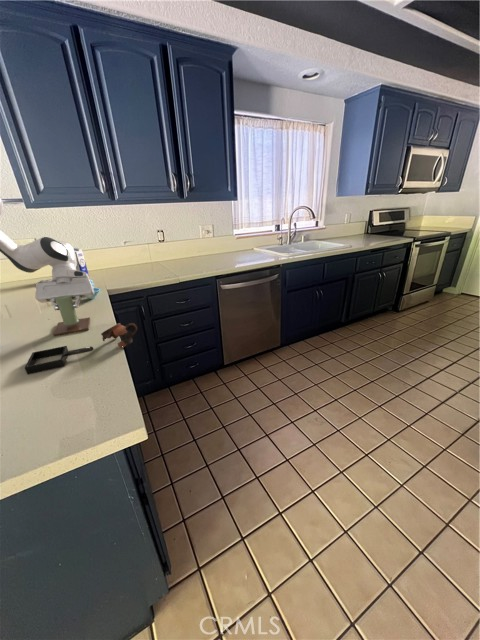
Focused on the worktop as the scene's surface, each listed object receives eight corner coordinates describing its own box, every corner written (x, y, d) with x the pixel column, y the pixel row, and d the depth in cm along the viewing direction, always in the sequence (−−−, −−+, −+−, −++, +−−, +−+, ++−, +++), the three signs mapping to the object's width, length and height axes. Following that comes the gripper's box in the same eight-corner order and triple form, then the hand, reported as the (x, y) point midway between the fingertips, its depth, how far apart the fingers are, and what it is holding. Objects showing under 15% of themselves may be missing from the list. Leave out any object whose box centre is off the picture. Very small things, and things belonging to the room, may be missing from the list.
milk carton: (80, 276, 187) (71, 247, 179) (89, 275, 187) (81, 247, 179) (73, 278, 181) (65, 249, 173) (83, 278, 181) (75, 248, 172)
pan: (27, 374, 79) (24, 367, 78) (35, 358, 87) (32, 352, 86) (94, 359, 86) (92, 353, 85) (95, 346, 94) (93, 340, 93)
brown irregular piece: (113, 354, 90) (99, 333, 88) (111, 354, 98) (97, 335, 96) (144, 334, 95) (131, 315, 94) (139, 336, 103) (127, 318, 102)
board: (53, 336, 102) (52, 334, 101) (58, 324, 112) (58, 322, 111) (88, 330, 106) (87, 328, 106) (90, 319, 116) (89, 317, 116)
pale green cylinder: (63, 326, 105) (54, 300, 100) (65, 321, 109) (56, 296, 105) (78, 323, 107) (70, 297, 102) (79, 318, 111) (71, 294, 106)
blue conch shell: (102, 299, 140) (98, 283, 136) (80, 303, 135) (75, 286, 132) (101, 290, 154) (97, 275, 150) (81, 293, 150) (76, 278, 146)
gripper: (32, 277, 103) (32, 309, 99) (89, 271, 109) (92, 301, 105) (39, 285, 109) (39, 315, 105) (94, 279, 115) (96, 308, 111)
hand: (66, 308), depth 105 cm, fingers closed on pale green cylinder, 5 cm apart
